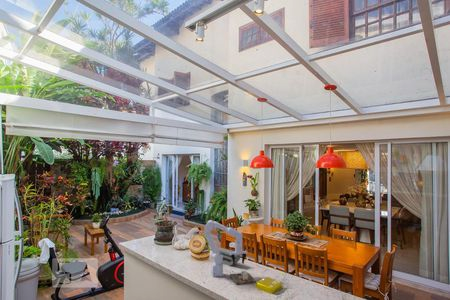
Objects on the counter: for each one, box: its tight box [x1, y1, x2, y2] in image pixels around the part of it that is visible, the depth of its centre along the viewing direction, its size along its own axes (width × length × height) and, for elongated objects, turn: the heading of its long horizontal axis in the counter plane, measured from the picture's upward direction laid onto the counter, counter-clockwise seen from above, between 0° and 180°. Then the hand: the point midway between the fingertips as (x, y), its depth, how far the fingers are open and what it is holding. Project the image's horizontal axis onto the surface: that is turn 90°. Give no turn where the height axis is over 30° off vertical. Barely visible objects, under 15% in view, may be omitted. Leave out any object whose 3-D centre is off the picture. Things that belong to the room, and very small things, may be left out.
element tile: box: [255, 276, 283, 295], centre depth 198 cm, size 15×15×5 cm
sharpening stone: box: [217, 247, 241, 267], centre depth 247 cm, size 25×8×11 cm, turn 48°
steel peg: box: [240, 270, 249, 281], centre depth 208 cm, size 4×4×7 cm
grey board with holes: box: [229, 271, 257, 286], centre depth 212 cm, size 16×17×2 cm
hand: (238, 263), depth 220 cm, fingers open, 7 cm apart
